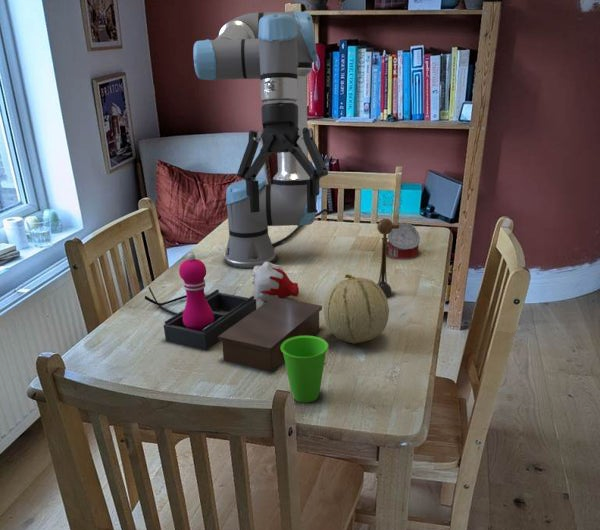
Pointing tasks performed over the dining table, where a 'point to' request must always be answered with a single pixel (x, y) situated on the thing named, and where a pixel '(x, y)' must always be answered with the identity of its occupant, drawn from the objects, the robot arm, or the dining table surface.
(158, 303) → the sunglasses
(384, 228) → the wooden tabletop sculpture
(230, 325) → the black rectangular open tray
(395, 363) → the dining table surface
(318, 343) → the cup
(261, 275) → the red white pronged ornament
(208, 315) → the pepper mill
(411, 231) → the canned food
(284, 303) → the brown lidded box
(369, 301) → the cantaloupe
